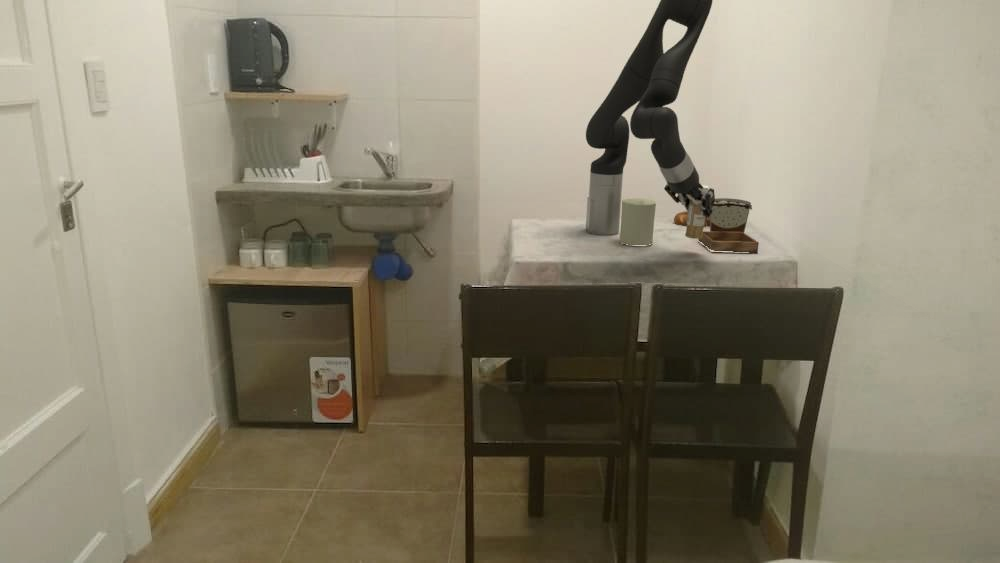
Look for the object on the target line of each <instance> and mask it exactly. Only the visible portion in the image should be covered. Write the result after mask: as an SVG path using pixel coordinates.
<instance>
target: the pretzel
mask: <svg viewBox="0 0 1000 563" xmlns="http://www.w3.org/2000/svg"><path fill="white" fill-rule="evenodd" d="M687 217H688V211H687V210H685V211H682V212H678V213H676V215H675V216H674V218H673V222H674V224H675V225H677V226H685V227H687ZM704 226H708V227H710V217H709V218H707V217H705V222H704Z"/></svg>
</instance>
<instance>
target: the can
mask: <svg viewBox="0 0 1000 563" xmlns="http://www.w3.org/2000/svg"><path fill="white" fill-rule="evenodd" d="M656 206H657V202H656V201H655V200H652V199H647V198H625V199H621V214H620V229H619V241H618V242H620V243H619V244H621V243H623V244H628V245H649V244H652V243H653V244H654V240H653V239H654V227H655V217H656V216H655V215H656ZM623 244H622V245H623Z"/></svg>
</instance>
